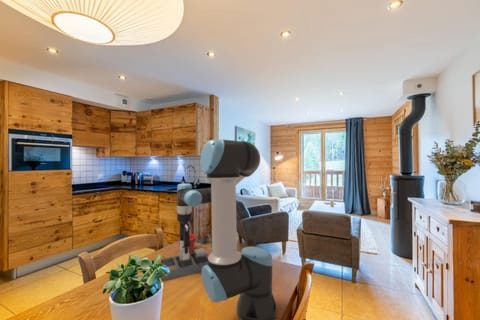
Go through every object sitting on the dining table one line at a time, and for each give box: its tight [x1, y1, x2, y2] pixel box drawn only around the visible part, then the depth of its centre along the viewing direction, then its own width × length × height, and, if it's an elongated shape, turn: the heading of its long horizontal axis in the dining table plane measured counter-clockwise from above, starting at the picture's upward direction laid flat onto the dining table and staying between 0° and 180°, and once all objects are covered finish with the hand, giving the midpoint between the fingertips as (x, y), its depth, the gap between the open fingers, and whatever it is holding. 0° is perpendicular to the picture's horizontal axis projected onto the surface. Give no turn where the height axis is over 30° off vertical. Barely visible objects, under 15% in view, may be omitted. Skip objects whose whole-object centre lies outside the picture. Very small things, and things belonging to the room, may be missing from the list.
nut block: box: [177, 251, 190, 268], centre depth 111 cm, size 5×5×8 cm
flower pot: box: [177, 233, 197, 254], centre depth 131 cm, size 11×11×10 cm
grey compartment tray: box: [160, 252, 209, 282], centre depth 111 cm, size 15×27×4 cm, turn 116°
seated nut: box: [193, 247, 207, 264], centre depth 115 cm, size 5×5×8 cm
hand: (184, 255), depth 111 cm, fingers open, 8 cm apart
